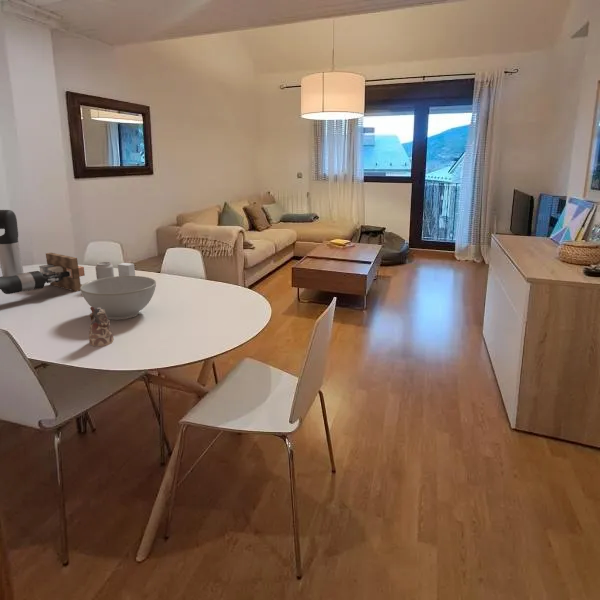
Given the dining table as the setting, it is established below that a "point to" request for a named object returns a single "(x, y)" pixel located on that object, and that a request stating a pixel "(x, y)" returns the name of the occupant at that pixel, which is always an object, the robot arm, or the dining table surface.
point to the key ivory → (55, 269)
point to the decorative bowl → (119, 295)
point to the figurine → (99, 328)
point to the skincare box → (126, 269)
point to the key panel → (65, 263)
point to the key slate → (45, 268)
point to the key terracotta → (81, 271)
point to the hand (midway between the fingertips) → (68, 273)
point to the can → (104, 270)
